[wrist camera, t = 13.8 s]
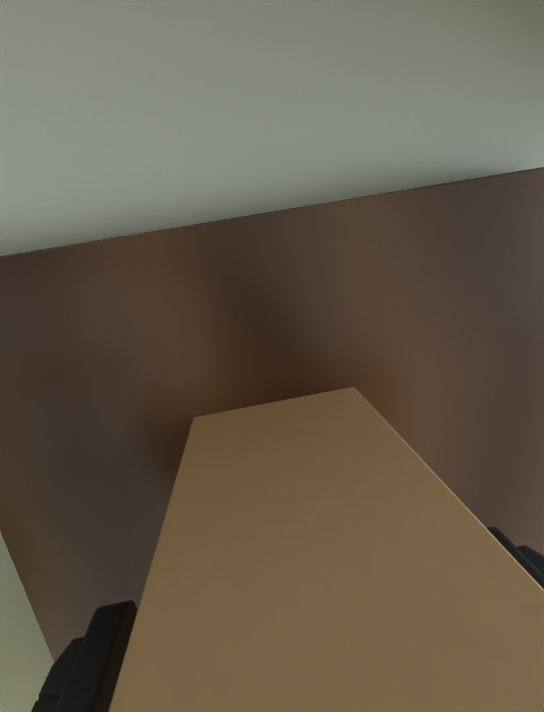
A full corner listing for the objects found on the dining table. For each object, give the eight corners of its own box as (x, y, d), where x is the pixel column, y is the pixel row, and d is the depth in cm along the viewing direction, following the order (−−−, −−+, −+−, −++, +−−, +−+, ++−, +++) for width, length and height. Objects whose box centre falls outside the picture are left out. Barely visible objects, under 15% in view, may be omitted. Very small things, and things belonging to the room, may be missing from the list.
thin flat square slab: (100, 721, 15) (91, 752, 14) (-76, 272, 11) (-107, 273, 10) (523, 627, 16) (542, 651, 15) (528, 173, 11) (555, 164, 10)
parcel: (235, 599, 13) (230, 1298, 4) (191, 417, 11) (25, 962, 2) (377, 569, 13) (651, 1171, 4) (355, 385, 12) (737, 784, 3)
